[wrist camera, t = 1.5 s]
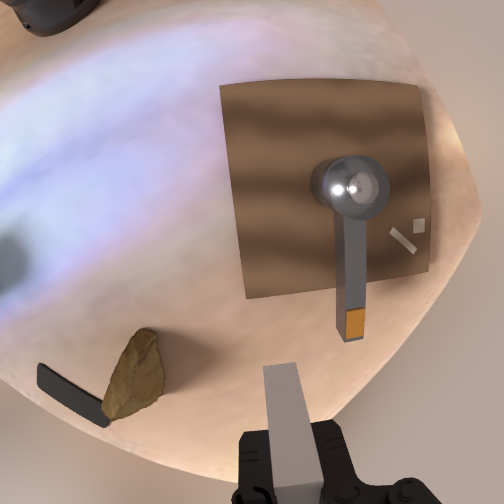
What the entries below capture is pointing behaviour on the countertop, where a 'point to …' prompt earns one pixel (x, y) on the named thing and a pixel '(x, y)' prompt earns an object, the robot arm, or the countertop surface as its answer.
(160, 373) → the rock
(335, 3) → the countertop surface
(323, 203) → the grey mallet
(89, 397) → the phone
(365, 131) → the base board
